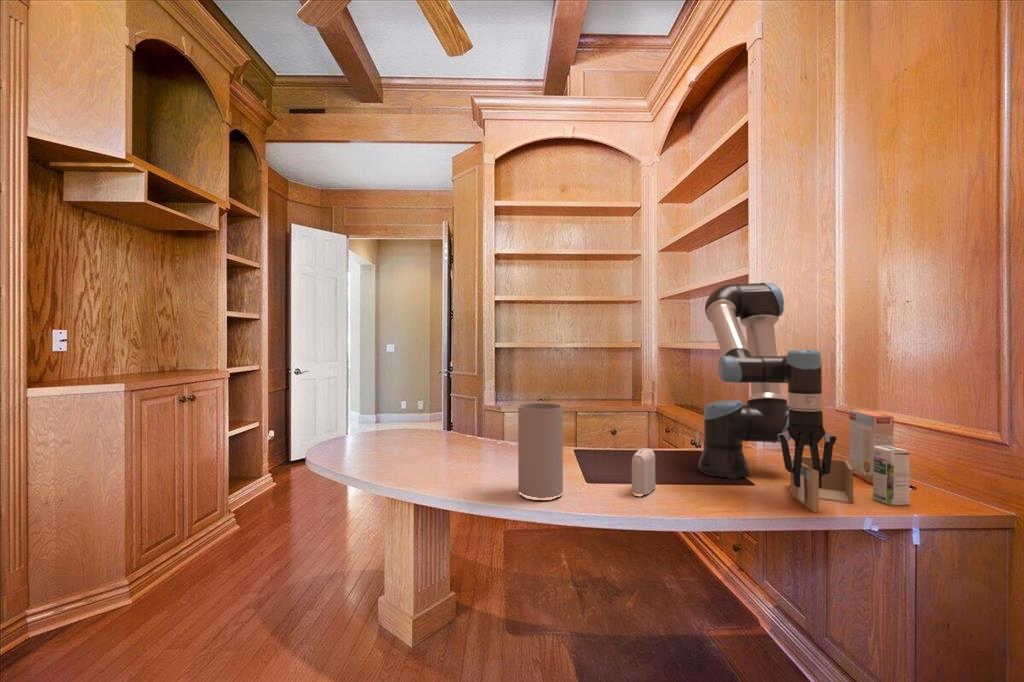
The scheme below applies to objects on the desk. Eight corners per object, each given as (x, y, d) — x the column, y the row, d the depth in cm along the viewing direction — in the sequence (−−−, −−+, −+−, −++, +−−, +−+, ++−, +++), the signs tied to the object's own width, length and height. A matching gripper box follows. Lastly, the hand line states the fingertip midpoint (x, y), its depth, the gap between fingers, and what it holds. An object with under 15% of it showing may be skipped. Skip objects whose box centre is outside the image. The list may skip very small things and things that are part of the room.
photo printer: (642, 486, 141) (642, 444, 141) (657, 489, 139) (657, 446, 139) (629, 495, 133) (629, 451, 133) (644, 498, 130) (644, 453, 130)
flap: (791, 495, 131) (791, 459, 131) (797, 496, 131) (797, 459, 131) (812, 511, 119) (812, 471, 119) (818, 511, 119) (818, 471, 119)
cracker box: (895, 486, 140) (894, 415, 140) (872, 485, 141) (871, 415, 141) (869, 473, 154) (869, 409, 154) (848, 472, 155) (848, 408, 155)
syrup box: (871, 498, 129) (871, 445, 129) (891, 498, 130) (891, 445, 130) (890, 506, 124) (889, 450, 124) (910, 505, 124) (910, 449, 124)
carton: (791, 495, 132) (791, 463, 132) (790, 485, 142) (790, 455, 142) (853, 503, 126) (853, 469, 126) (847, 492, 135) (847, 460, 135)
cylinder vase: (556, 504, 126) (556, 410, 126) (512, 499, 130) (511, 408, 130) (567, 490, 137) (567, 404, 137) (526, 486, 142) (526, 402, 142)
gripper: (775, 410, 122) (778, 502, 121) (845, 411, 117) (847, 507, 117) (769, 406, 129) (771, 493, 129) (834, 407, 124) (836, 497, 124)
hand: (807, 499), depth 123 cm, fingers open, 2 cm apart
